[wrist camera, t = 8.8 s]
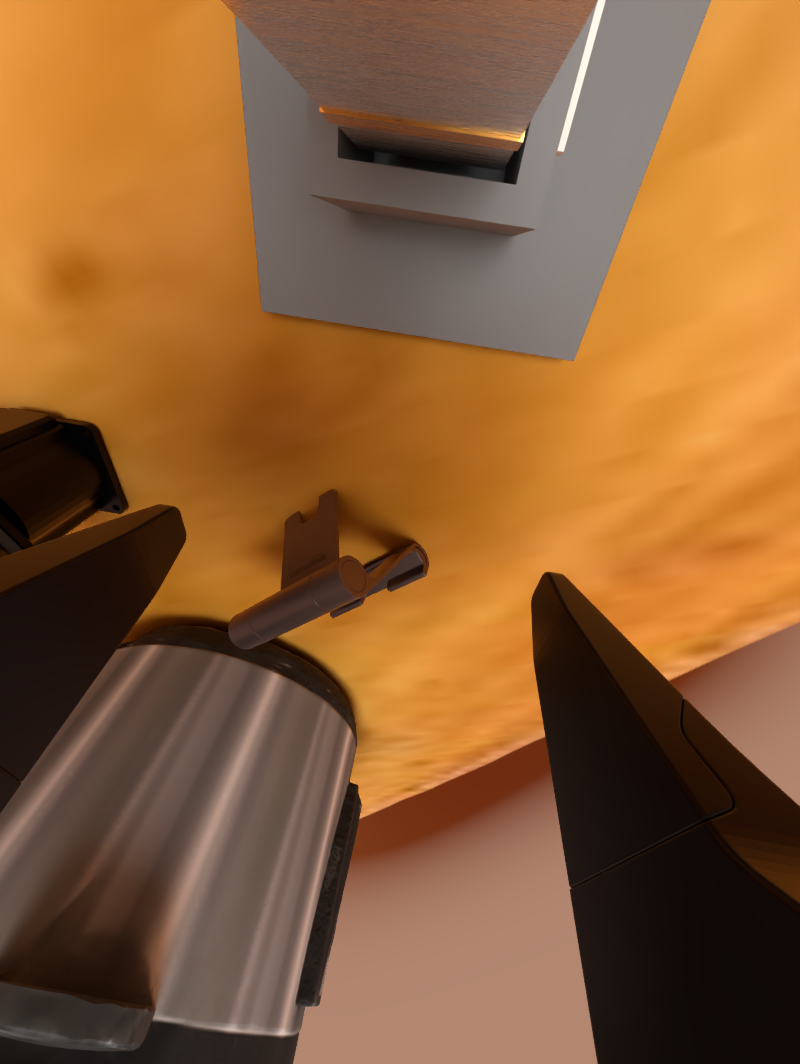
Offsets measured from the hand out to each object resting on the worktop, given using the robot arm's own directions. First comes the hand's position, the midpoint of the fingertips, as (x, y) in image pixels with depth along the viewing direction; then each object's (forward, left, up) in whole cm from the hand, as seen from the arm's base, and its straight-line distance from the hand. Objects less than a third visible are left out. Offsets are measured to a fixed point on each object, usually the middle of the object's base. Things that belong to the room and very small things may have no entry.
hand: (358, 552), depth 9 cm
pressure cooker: (-35, +13, -13) cm, 40 cm away
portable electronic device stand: (-11, +3, -13) cm, 18 cm away
